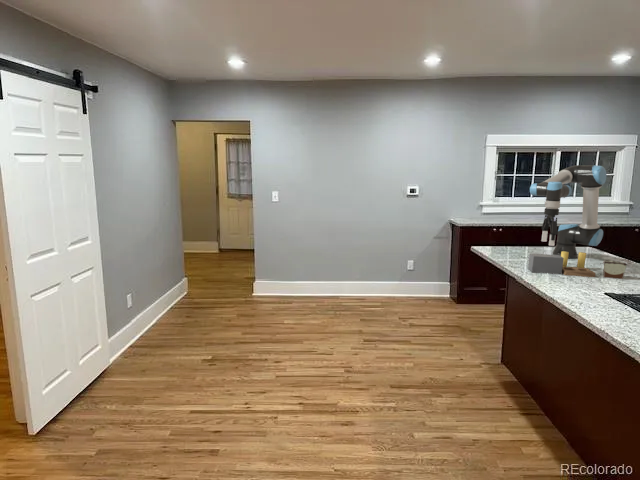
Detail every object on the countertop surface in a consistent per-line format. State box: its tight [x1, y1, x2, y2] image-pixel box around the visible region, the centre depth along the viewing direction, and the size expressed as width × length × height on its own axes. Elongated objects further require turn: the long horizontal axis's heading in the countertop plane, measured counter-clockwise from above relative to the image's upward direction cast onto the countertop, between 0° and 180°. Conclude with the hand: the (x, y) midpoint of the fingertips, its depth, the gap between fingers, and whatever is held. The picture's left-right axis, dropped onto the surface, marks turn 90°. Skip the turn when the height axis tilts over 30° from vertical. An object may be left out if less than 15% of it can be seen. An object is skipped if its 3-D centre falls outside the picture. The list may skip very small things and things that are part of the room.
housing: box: [527, 253, 564, 275], centre depth 256 cm, size 8×16×10 cm, turn 79°
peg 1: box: [561, 251, 569, 267], centre depth 267 cm, size 4×4×10 cm
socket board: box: [561, 266, 596, 278], centre depth 253 cm, size 12×16×2 cm
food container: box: [602, 258, 629, 280], centre depth 246 cm, size 12×6×10 cm, turn 71°
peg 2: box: [576, 251, 587, 268], centre depth 265 cm, size 4×4×10 cm
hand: (547, 243), depth 253 cm, fingers open, 13 cm apart
